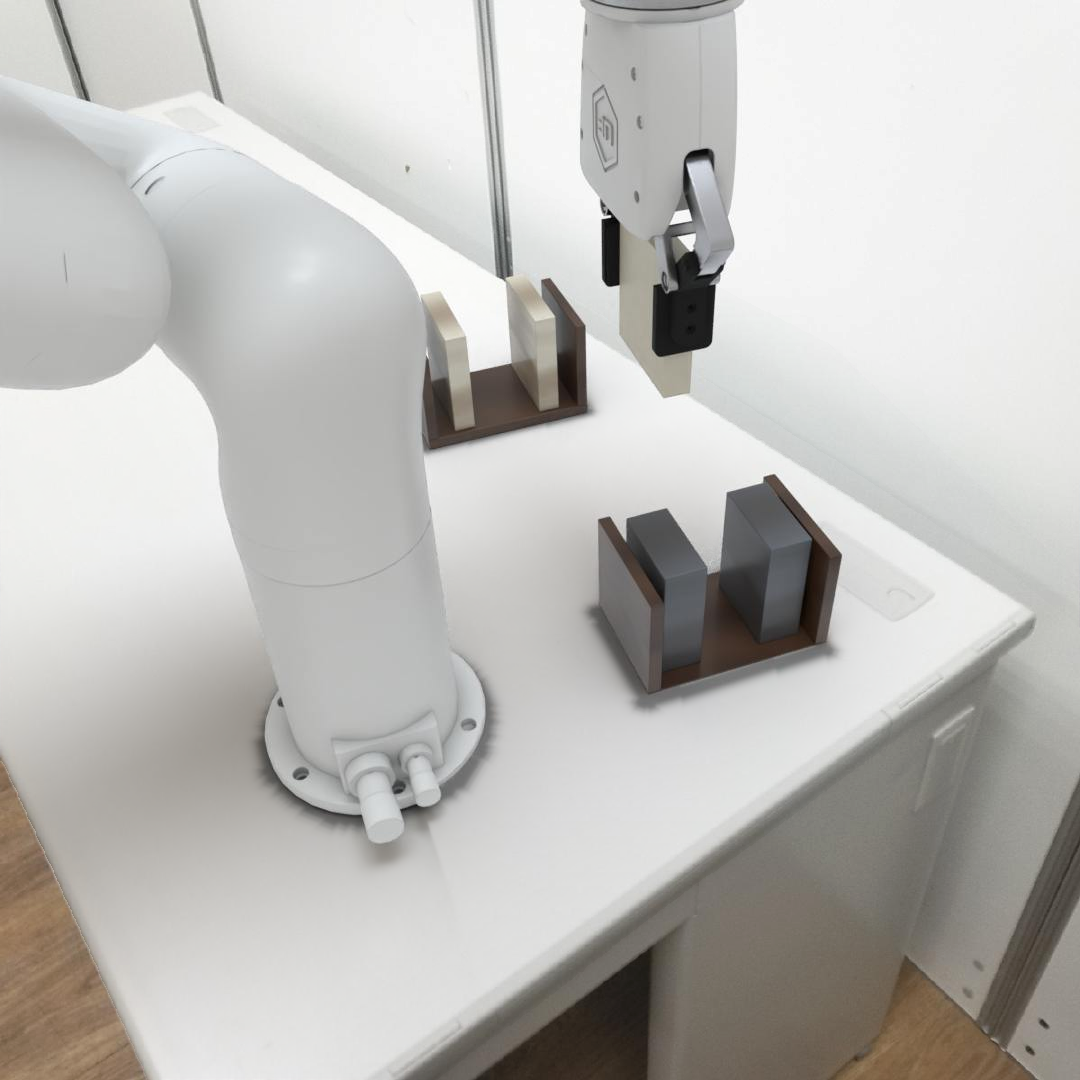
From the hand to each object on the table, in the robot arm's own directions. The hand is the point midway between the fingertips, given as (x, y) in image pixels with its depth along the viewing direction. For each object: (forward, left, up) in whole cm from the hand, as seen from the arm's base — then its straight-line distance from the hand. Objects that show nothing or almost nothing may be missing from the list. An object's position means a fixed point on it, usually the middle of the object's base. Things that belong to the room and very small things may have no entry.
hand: (654, 311), depth 61 cm
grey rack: (-7, -1, -19) cm, 20 cm away
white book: (0, 0, -3) cm, 3 cm away
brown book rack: (+22, +4, -19) cm, 29 cm away
